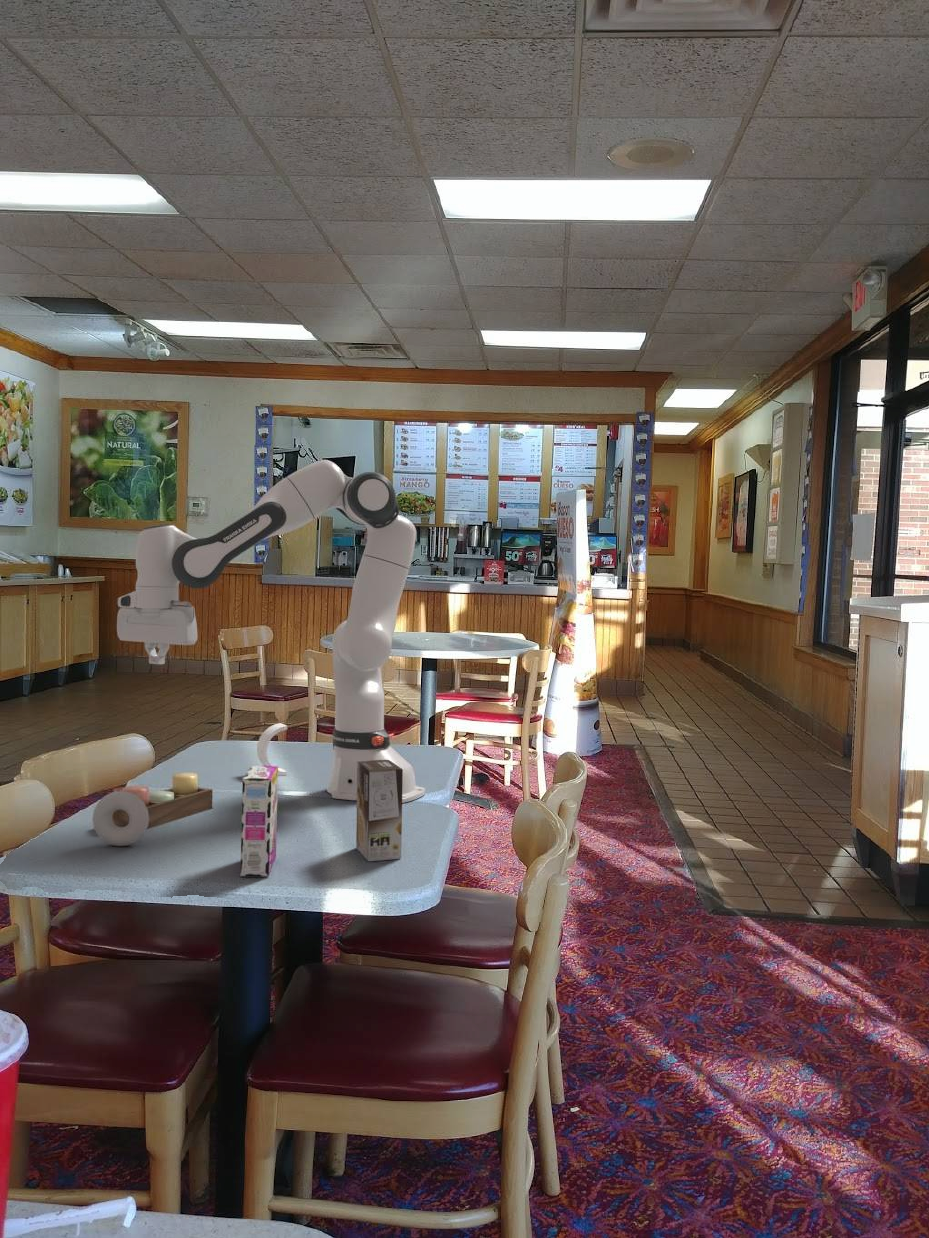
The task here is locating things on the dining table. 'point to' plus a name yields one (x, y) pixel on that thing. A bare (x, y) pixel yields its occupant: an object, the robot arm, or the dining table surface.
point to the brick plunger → (139, 792)
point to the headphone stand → (264, 743)
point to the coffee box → (379, 810)
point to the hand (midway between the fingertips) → (156, 663)
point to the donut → (106, 825)
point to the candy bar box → (259, 821)
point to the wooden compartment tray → (171, 808)
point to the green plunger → (161, 796)
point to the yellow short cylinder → (185, 783)
